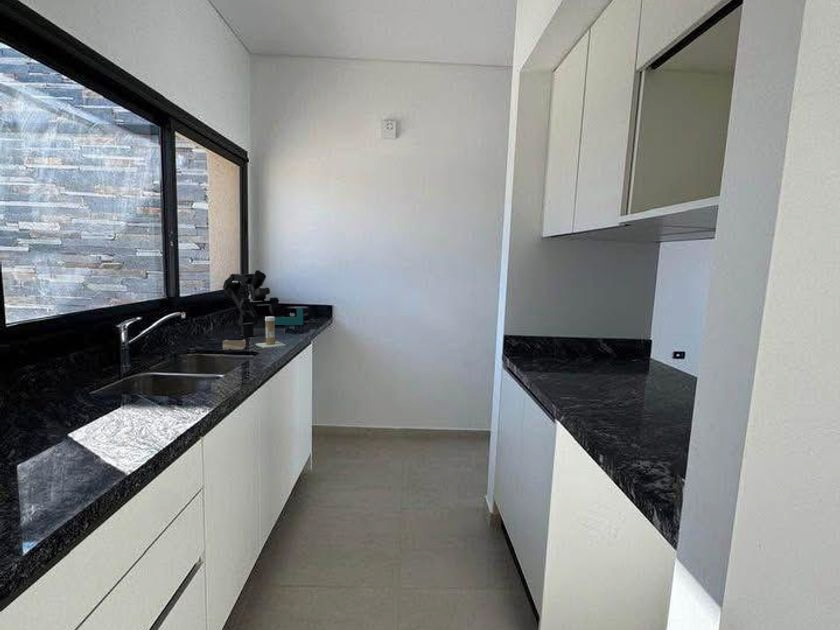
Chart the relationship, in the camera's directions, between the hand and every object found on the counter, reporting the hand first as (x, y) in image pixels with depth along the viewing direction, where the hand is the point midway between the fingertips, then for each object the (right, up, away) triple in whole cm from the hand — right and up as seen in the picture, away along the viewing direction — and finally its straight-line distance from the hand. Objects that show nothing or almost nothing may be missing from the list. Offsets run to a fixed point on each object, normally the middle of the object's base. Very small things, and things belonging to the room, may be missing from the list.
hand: (263, 315), depth 232 cm
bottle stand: (-9, -15, -16) cm, 23 cm away
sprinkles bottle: (+6, -14, -7) cm, 17 cm away
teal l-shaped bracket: (-6, -6, +65) cm, 65 cm away
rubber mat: (+6, -14, -7) cm, 17 cm away
